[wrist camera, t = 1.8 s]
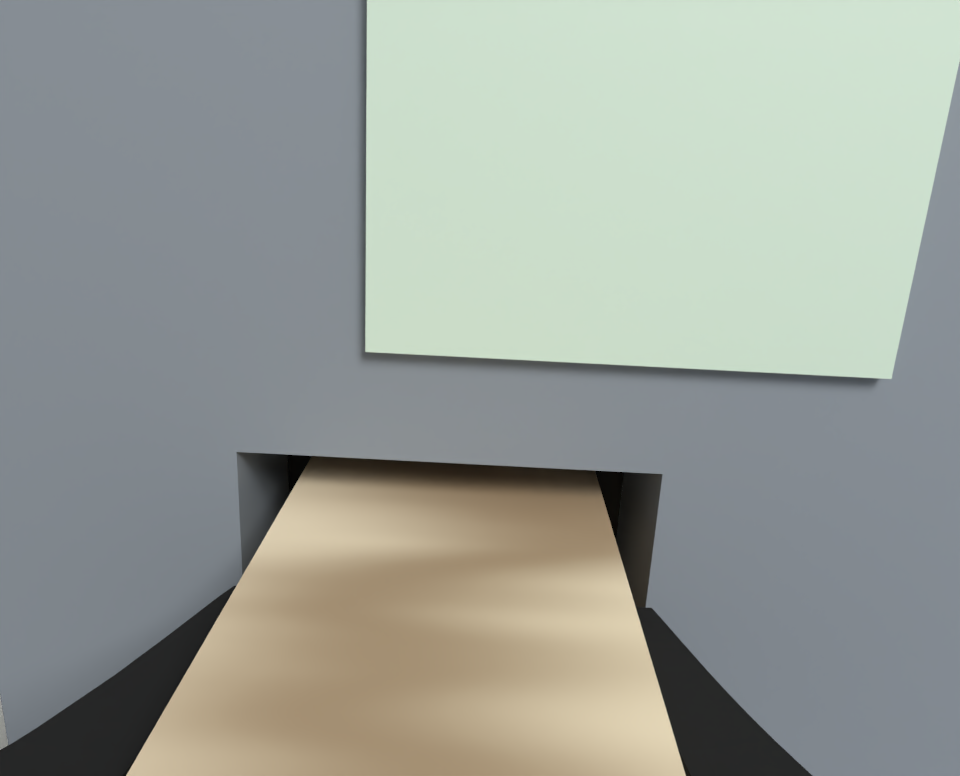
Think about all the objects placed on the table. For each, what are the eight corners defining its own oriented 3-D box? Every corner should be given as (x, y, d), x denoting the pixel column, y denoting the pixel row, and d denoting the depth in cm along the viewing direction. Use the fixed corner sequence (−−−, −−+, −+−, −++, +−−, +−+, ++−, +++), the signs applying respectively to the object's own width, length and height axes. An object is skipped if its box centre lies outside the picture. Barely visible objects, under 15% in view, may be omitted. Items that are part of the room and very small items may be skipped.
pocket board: (1160, -237, 9) (1402, -374, 7) (886, 825, 14) (969, 971, 12) (-17, -295, 9) (-202, -450, 7) (108, 783, 14) (26, 919, 12)
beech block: (586, 443, 12) (698, 817, 5) (565, 664, 13) (636, 1192, 7) (326, 430, 12) (119, 785, 5) (329, 651, 13) (162, 1164, 7)
